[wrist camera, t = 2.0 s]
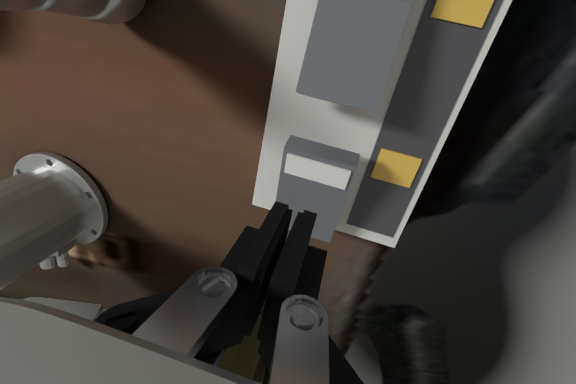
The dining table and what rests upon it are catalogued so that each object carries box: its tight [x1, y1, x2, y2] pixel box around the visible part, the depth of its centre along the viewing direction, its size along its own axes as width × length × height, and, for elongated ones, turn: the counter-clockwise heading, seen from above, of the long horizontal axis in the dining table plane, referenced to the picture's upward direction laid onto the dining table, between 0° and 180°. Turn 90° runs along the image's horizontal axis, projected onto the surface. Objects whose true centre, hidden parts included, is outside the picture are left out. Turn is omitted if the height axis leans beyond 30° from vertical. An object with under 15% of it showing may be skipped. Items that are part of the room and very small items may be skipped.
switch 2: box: [276, 135, 360, 243], centre depth 23 cm, size 8×5×2 cm, turn 168°
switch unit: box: [252, 0, 512, 248], centre depth 21 cm, size 30×13×5 cm, turn 168°
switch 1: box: [296, 0, 413, 113], centre depth 18 cm, size 8×5×2 cm, turn 168°
